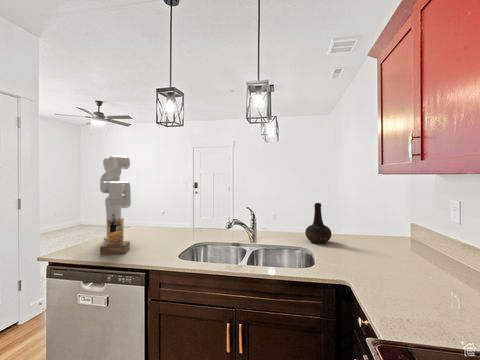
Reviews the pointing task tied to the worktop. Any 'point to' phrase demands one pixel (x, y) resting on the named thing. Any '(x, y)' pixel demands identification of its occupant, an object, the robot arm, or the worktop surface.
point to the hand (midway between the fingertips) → (115, 230)
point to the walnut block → (114, 248)
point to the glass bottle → (318, 228)
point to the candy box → (118, 235)
